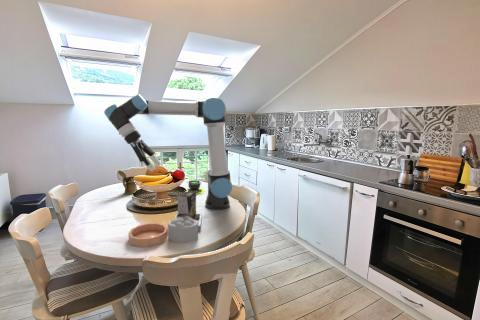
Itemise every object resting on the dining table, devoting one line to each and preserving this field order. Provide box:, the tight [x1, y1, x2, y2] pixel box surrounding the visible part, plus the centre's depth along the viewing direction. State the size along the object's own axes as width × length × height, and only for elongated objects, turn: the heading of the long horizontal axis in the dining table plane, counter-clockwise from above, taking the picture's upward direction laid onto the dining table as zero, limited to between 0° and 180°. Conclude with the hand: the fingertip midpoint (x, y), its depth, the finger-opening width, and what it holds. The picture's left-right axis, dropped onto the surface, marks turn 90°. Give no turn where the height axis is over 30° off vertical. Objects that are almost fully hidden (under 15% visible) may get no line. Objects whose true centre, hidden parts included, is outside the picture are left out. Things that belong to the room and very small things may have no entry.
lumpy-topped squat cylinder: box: [167, 216, 199, 244], centre depth 113 cm, size 10×13×9 cm
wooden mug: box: [117, 170, 138, 195], centre depth 175 cm, size 9×14×18 cm, turn 153°
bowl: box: [128, 222, 168, 248], centre depth 112 cm, size 16×16×4 cm
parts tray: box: [173, 212, 203, 231], centre depth 127 cm, size 14×16×2 cm
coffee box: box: [177, 190, 197, 221], centre depth 126 cm, size 9×6×16 cm
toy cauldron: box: [186, 176, 205, 195], centre depth 184 cm, size 15×15×11 cm
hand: (156, 167), depth 129 cm, fingers open, 13 cm apart
